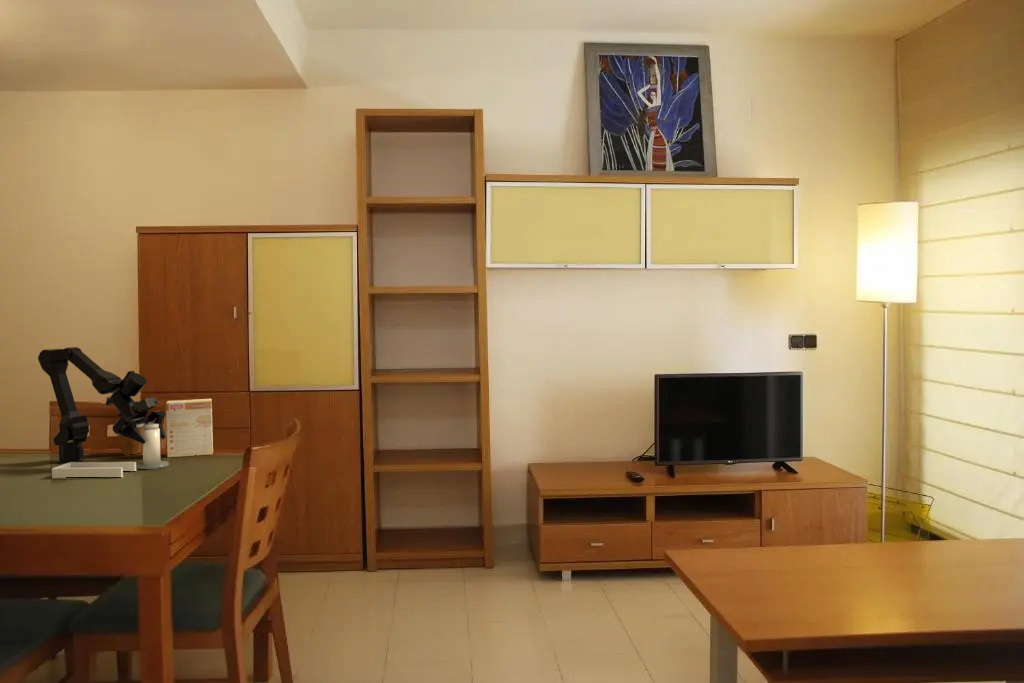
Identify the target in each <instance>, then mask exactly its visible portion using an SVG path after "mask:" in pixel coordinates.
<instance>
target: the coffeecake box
mask: <svg viewBox="0 0 1024 683" xmlns="http://www.w3.org/2000/svg"><path fill="white" fill-rule="evenodd" d="M212 400H213V399H212V398H202V399H200V398H198V399H197V398H195V399H175V400H167V401H166V403H165V405H166V406H165V408H166V409H165V412H166V414H165V415H166V416H165V417H166V418H165V419H166V443H167V444H166V446H167V447H166V449H167V450H166V451H167V456H166V457H167V458H178V457H179V458H180V457H194V456H195V455H196V456H208V455H210V456H211V455H213V454H214V453H213V452H214V446H213V444H214V441H213V440H214V438H213V437H214V436H213V403H212Z"/></svg>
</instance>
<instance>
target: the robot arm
mask: <svg viewBox="0 0 1024 683" xmlns="http://www.w3.org/2000/svg"><path fill="white" fill-rule="evenodd" d="M37 356H38V357H37V360H38V362H39V365H40V368H41V369H42V371H44V373H46V375H48V376H49V378H50V381H51V385H52V388H53V392H54V395H55V399H56V402H57V405H58V409H59V412H60V416H61V417H60V421H59V422H58V423H59V424H58V427H59V432H58V433H57V434H56V435H55V437H54V438H53V444H54V445H55V446H58V459H59V460H57V461H56V463H57V464H66V463H68V462H82V461H84V460H86V458H85V456H84V447H83V443H85V442H86V441H87V438H88V434H89V433H90V426H91V425H90V424H89V422H88V416H86V414H84V415H82V414H80V412H78V409H77V408H78V407H77V405H76V401H75V398H74V396H73V395H74V394H73V391H72V389H71V385H70V382H69V379H68V374H67V370H68V366H69V362H70V363H71V364H73V366H74V367H75V368H77V369H78V370H79V371H80V372H82V374H84V375H85V376H86V377H87V378H89V379H90V381H91V385H92V387H93V388H94V389H95V390H96V392H97V393H99V395H108V394H110V396H108V397H106V401H105V406H106V407H107V406H114V408H115V409H116V410H117V411H118V414H117V416H118V417H119V418H118V419H117V420H116V422H115V423H114V424H113V425H112V432H113V433H114V434H115V435H116V436H117V435H118V434H119V435H122V436H125V437H128V438H131V439H133V440H135V441H138V442H140V443H142V445H143V444H145V442H146V441H145V439H144V437H143V436H142V435H141V433H140V432H139V430H138V429H137V426H136V425H140V424H159V428H160V439H161V440H165V439H167V435H166V434H165V430H164V427H163V420H164V419H165V417H166V414H165V412H164V411H163V410H155V411H151V412H150V410H151V409H153V408H154V409H155V408H157V405H158V404H159V402H158V401H159V400H158V399H157V398H156V397H155V396H153V395H152V396H149V397H147V398H143V399H141V400H139V401H135V400H134V399H133V398H132V397H136V396H138V394H139V393H140V392H141V390H142V389H143V388H144V387H145V385H147V383H148V382H147V379H146V378H145V377H144V376H142V375H141V374H140V373H137V372H135V371H134V370H129V371H127V373H126V375H125V376H124V377H123V379H121V377H120V376H118V375H117V374H115V373H113V372H111V371H107V370H104V369H103V368H102V367H101V366H100V365H98V364H97V362H94V360H92V359H91V358H90V357H89V356H88V355H87V354H85V353H84V352H83V351H82V349H81V348H80V347H78V346H77V347H76V346H74V347H73V346H70V347H65V348H50V349H42V350H41V351H40V352H39V354H38V355H37ZM148 414H149V415H148ZM147 415H148V416H147ZM119 435H118V436H119ZM81 460H82V461H81Z"/></svg>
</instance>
